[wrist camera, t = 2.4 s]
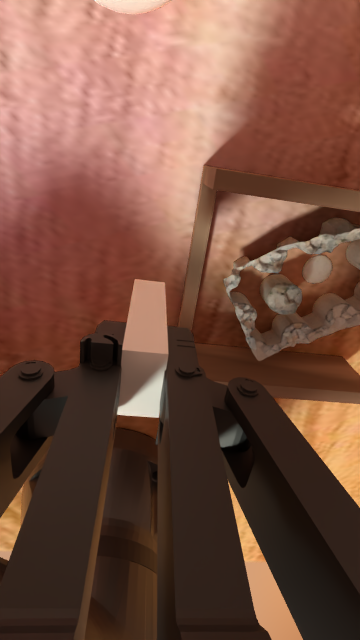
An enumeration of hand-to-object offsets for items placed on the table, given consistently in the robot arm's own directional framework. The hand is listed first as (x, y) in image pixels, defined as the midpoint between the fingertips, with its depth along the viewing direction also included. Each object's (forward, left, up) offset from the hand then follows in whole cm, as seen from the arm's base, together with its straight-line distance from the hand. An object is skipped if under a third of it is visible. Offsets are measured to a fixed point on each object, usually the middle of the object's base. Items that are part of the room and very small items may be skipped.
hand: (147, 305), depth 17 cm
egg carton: (0, -11, -8) cm, 14 cm away
